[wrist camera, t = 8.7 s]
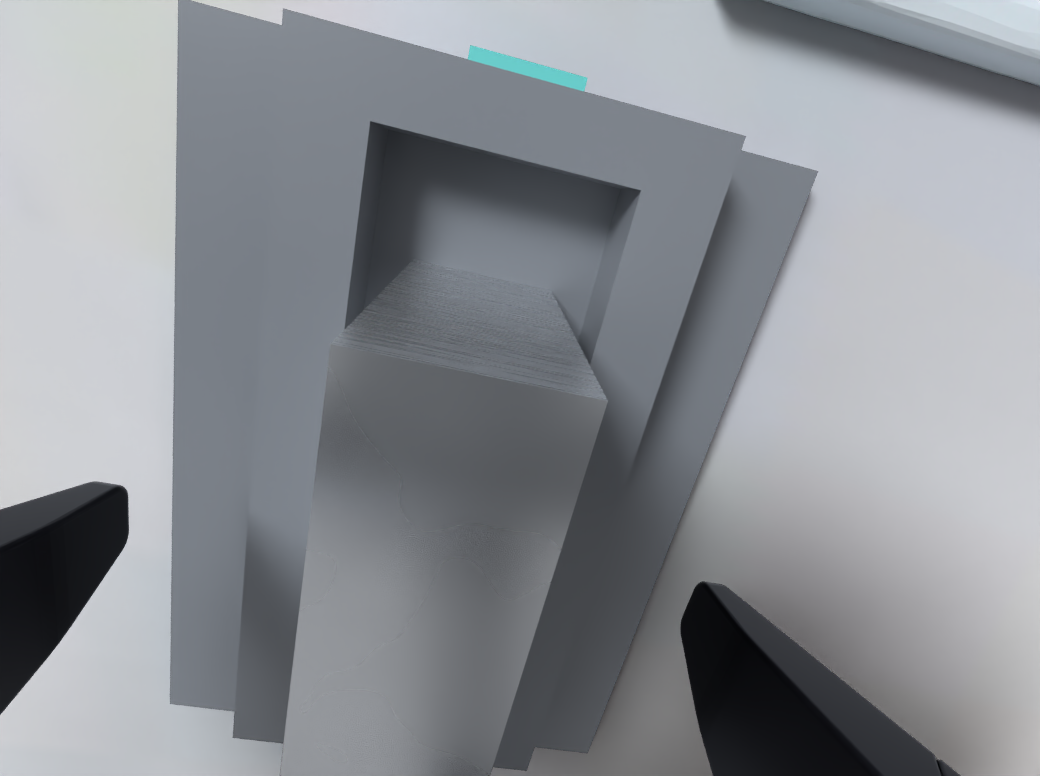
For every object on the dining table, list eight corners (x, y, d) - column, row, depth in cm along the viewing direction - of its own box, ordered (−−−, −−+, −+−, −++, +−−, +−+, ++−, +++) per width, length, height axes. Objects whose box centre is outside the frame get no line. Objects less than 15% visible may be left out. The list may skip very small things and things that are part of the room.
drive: (464, 638, 12) (446, 925, 8) (351, 623, 12) (259, 911, 7) (553, 291, 9) (613, 402, 5) (410, 258, 9) (324, 343, 4)
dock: (584, 734, 14) (596, 809, 12) (181, 684, 13) (135, 759, 11) (806, 159, 9) (875, 155, 8) (196, -9, 8) (119, -57, 6)
